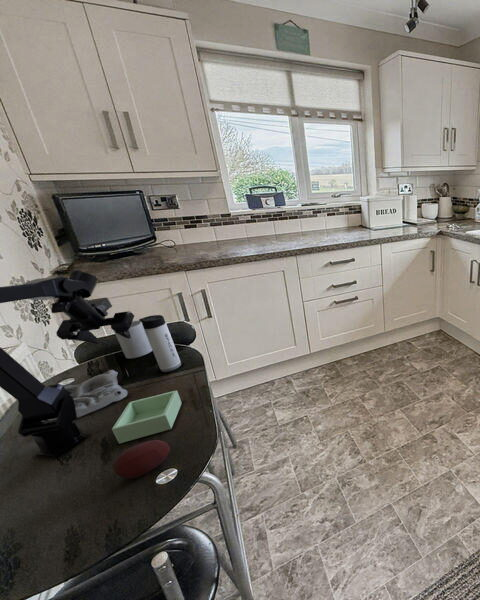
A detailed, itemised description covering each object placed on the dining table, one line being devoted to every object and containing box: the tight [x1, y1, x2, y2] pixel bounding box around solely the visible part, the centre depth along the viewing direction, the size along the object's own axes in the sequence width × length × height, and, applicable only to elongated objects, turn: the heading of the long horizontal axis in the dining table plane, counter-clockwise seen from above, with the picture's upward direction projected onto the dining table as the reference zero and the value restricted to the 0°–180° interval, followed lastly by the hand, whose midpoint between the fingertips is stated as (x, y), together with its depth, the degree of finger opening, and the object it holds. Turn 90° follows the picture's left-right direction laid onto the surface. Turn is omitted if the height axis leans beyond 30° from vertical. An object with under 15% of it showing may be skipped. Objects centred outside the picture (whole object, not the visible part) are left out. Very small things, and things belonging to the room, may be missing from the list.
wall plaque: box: [42, 369, 128, 422], centre depth 103 cm, size 24×19×4 cm
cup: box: [113, 319, 153, 359], centre depth 128 cm, size 9×9×12 cm
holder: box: [111, 390, 183, 444], centre depth 88 cm, size 12×12×5 cm
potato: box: [113, 439, 171, 480], centre depth 73 cm, size 7×10×6 cm
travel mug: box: [138, 314, 182, 373], centre depth 113 cm, size 6×7×20 cm
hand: (114, 339), depth 106 cm, fingers open, 9 cm apart
